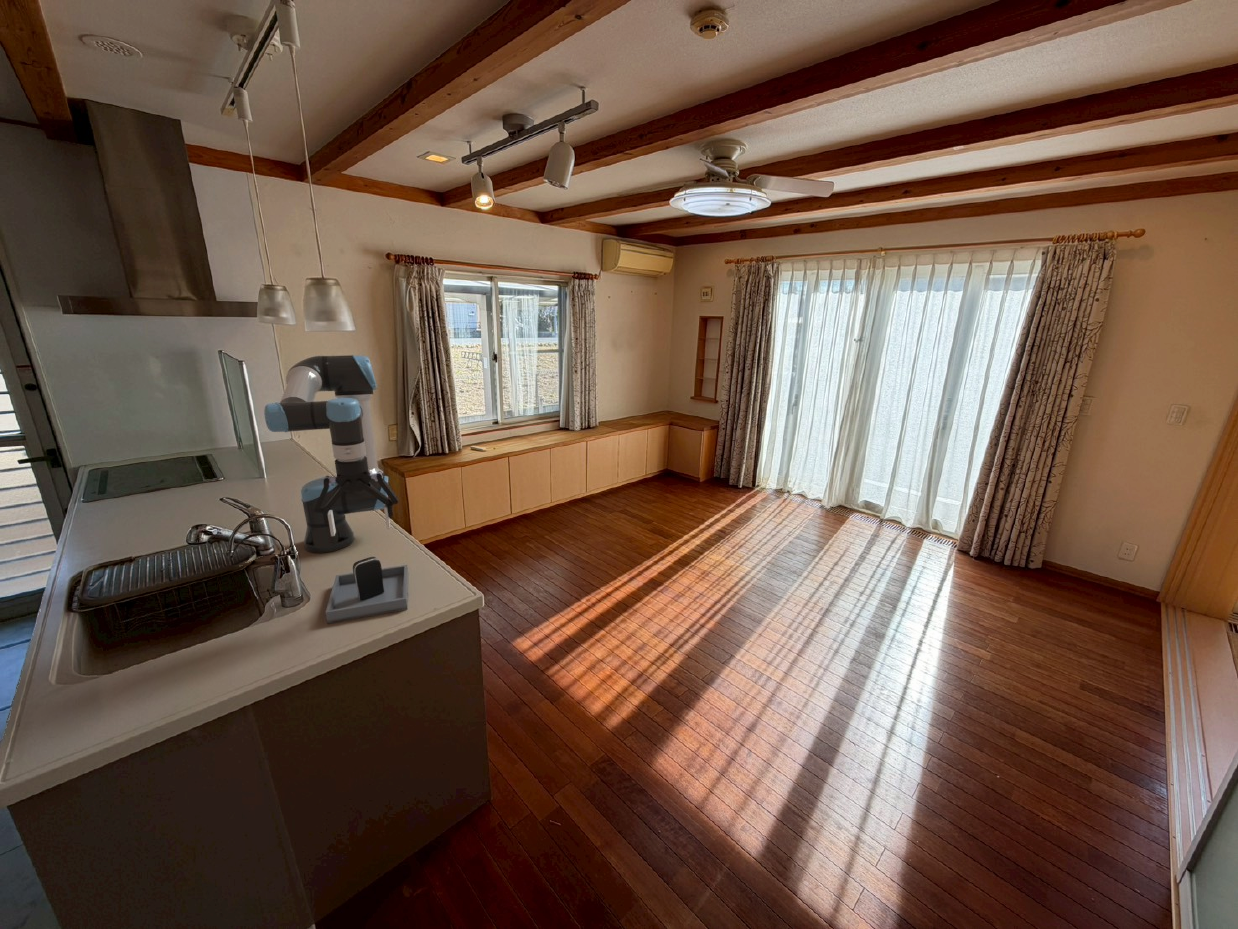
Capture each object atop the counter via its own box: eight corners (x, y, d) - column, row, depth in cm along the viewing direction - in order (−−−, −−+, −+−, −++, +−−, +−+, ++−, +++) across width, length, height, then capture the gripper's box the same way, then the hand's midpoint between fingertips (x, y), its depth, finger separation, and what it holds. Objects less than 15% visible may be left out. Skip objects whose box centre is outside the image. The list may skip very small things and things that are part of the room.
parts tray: (337, 585, 145) (336, 575, 144) (408, 574, 152) (407, 564, 151) (327, 624, 128) (325, 612, 127) (407, 609, 135) (406, 598, 134)
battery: (380, 587, 144) (376, 553, 140) (385, 592, 141) (380, 558, 138) (355, 596, 139) (349, 561, 135) (360, 602, 136) (354, 566, 133)
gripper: (292, 466, 119) (306, 543, 126) (401, 457, 128) (410, 530, 135) (298, 457, 126) (312, 531, 132) (402, 450, 135) (410, 519, 142)
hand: (361, 530), depth 134 cm, fingers open, 13 cm apart
